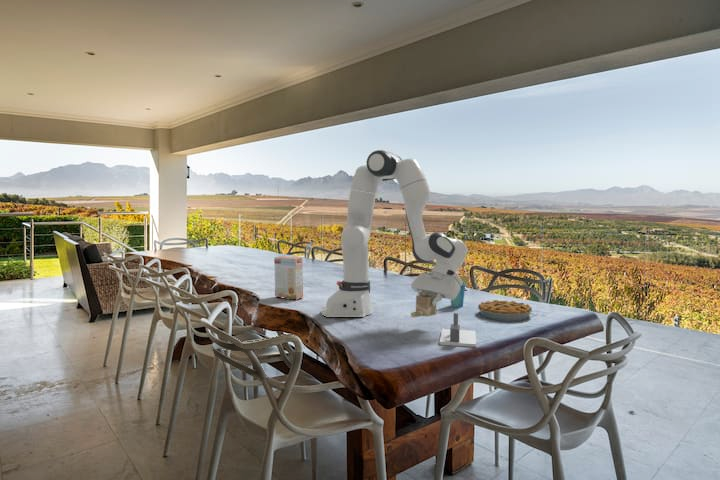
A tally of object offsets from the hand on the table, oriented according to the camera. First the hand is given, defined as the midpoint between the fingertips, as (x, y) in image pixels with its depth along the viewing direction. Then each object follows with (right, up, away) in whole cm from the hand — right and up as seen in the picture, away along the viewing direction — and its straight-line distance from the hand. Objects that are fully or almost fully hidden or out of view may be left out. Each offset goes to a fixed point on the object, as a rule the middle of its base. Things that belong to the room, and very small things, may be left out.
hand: (425, 302), depth 173 cm
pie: (+37, -8, +21) cm, 43 cm away
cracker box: (-61, -6, +57) cm, 83 cm away
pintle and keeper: (+9, -11, -13) cm, 19 cm away
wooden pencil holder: (-1, -4, -1) cm, 5 cm away
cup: (+19, -7, +37) cm, 42 cm away
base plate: (+10, -11, -13) cm, 19 cm away
